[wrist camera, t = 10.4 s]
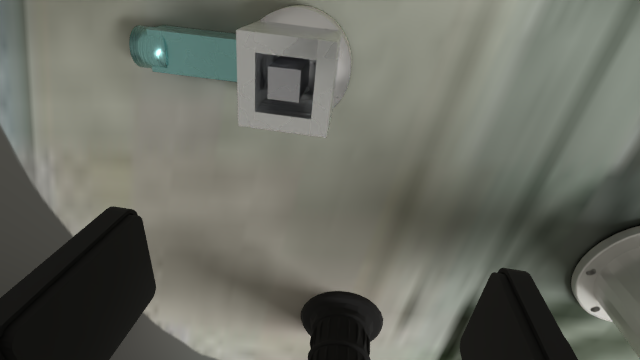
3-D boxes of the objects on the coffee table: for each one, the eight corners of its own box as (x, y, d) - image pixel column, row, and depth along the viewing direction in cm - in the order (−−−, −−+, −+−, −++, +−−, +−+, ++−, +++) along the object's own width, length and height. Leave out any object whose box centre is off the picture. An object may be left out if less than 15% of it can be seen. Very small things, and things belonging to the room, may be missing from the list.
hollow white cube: (342, 30, 24) (337, 42, 19) (332, 112, 26) (326, 137, 22) (258, 20, 24) (236, 29, 19) (258, 102, 27) (238, 125, 22)
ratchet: (358, 11, 25) (357, 21, 19) (344, 115, 29) (340, 151, 23) (143, -13, 26) (76, -11, 20) (158, 92, 30) (107, 121, 24)
